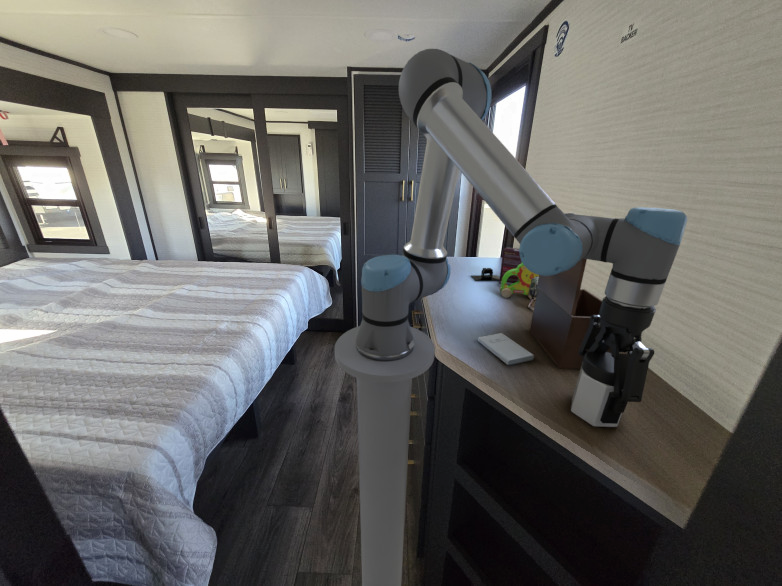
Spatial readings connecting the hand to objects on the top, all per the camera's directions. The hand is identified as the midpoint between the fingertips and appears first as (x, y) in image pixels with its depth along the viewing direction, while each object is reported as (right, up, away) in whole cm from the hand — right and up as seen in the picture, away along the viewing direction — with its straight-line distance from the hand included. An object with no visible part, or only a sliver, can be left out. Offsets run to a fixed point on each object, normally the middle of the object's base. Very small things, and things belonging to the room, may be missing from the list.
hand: (595, 405), depth 62 cm
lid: (+2, +27, +16) cm, 32 cm away
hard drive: (-10, +7, +22) cm, 25 cm away
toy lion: (+10, +21, +59) cm, 63 cm away
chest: (+8, +7, +23) cm, 26 cm away
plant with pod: (+11, +16, +47) cm, 51 cm away
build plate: (+2, +29, +79) cm, 84 cm away
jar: (0, -2, +1) cm, 2 cm away
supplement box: (+10, +25, +70) cm, 75 cm away
